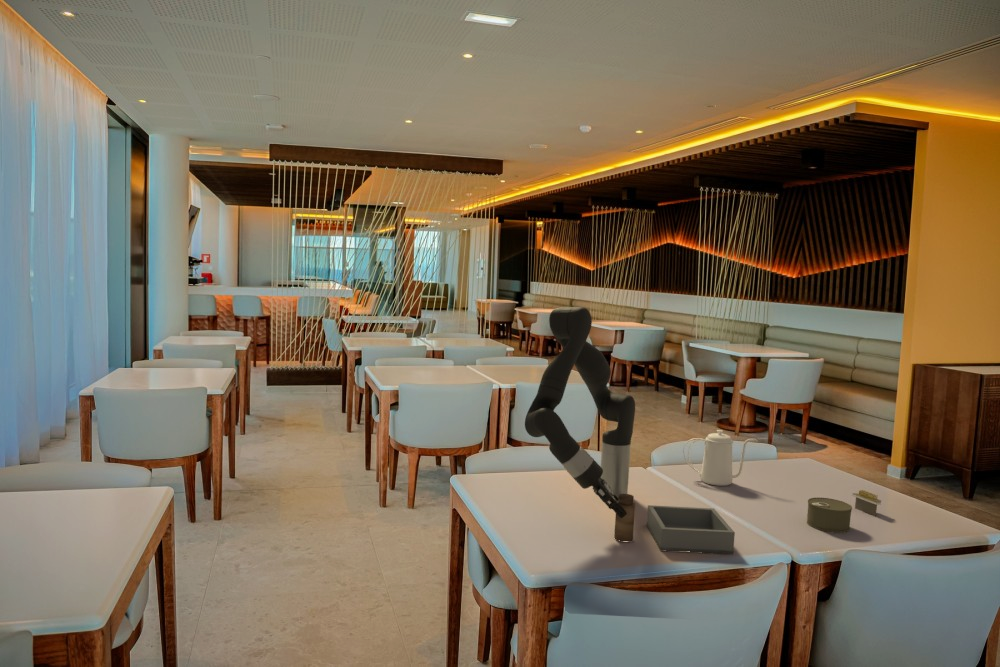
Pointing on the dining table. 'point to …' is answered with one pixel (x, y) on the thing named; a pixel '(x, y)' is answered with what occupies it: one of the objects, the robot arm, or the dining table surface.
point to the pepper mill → (625, 519)
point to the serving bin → (690, 529)
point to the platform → (866, 502)
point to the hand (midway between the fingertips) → (621, 510)
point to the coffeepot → (718, 459)
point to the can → (829, 515)
